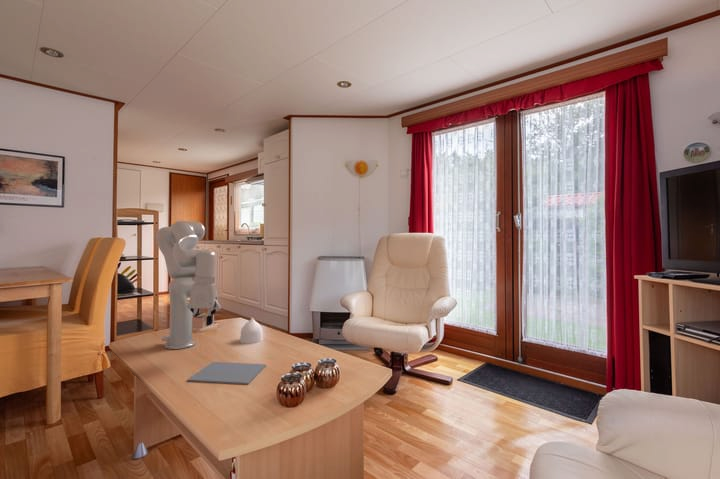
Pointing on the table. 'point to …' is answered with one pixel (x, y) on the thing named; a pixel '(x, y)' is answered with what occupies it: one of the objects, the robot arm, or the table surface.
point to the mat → (228, 373)
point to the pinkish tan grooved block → (200, 321)
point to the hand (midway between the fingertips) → (203, 324)
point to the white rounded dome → (251, 332)
